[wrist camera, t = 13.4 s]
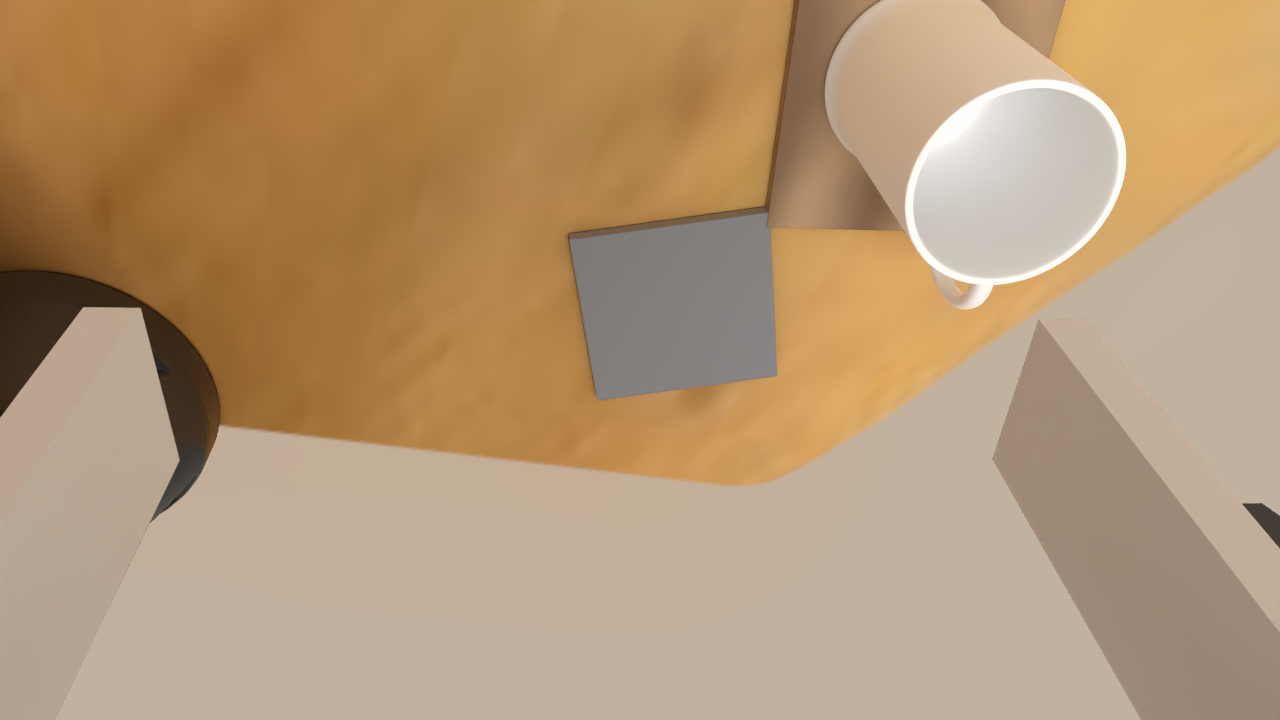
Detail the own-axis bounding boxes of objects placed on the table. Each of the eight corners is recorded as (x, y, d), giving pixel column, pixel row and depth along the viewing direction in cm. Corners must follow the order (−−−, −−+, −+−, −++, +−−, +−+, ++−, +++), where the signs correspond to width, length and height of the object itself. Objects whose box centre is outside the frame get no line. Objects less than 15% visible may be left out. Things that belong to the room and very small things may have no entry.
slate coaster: (596, 393, 55) (597, 400, 55) (569, 233, 50) (569, 240, 49) (774, 368, 55) (777, 376, 55) (766, 206, 50) (769, 212, 49)
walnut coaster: (763, 220, 50) (766, 227, 50) (799, -28, 44) (802, -24, 43) (992, 225, 51) (998, 232, 51) (1061, -16, 45) (1069, -12, 44)
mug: (973, 225, 50) (1076, 358, 40) (806, 230, 50) (870, 365, 40) (1026, -17, 44) (1165, 70, 34) (835, -16, 43) (919, 74, 33)
